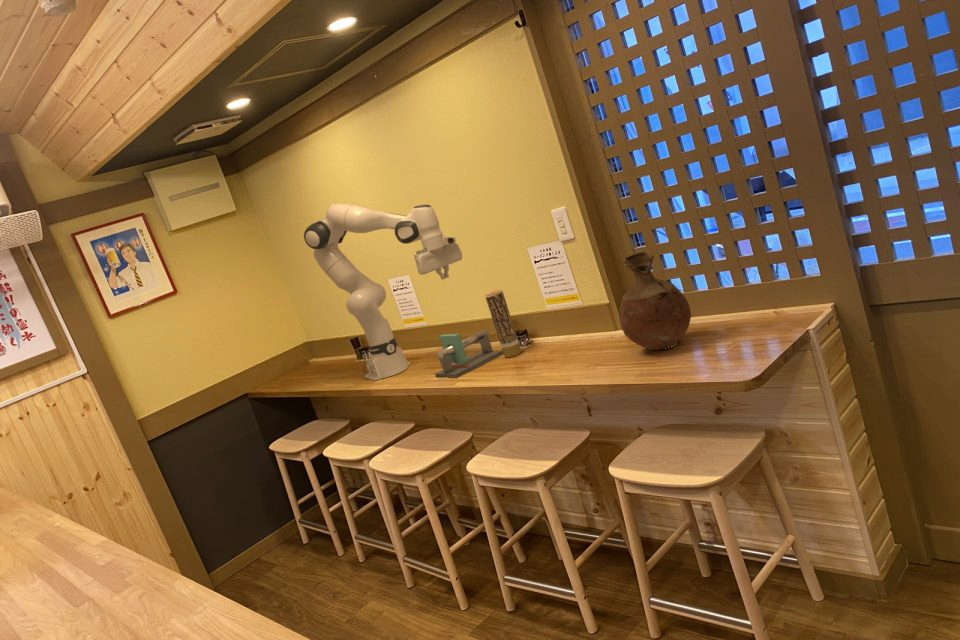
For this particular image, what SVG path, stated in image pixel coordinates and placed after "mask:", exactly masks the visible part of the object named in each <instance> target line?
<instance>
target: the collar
mask: <svg viewBox="0 0 960 640" xmlns="http://www.w3.org/2000/svg"><path fill="white" fill-rule="evenodd" d="M438 338H439V341H440V343H441V345H442V350H443V349H445V348H447V347H449V346H451V345H453V347H454V350H455V353H452V354H450V355H449V358H450V361H451V364H456V363H465V362H467V361H468V359H467V358H468V355H467V354H466V350H465V348H464V347H463V344H462V341H461V340H462V338H461V335H460V333H451V334H448V333H447V334H442V335H439V336H438Z"/></svg>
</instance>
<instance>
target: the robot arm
mask: <svg viewBox="0 0 960 640" xmlns="http://www.w3.org/2000/svg"><path fill="white" fill-rule="evenodd" d="M325 214H326V215H325V217H322V218H320V219H318V220H316V222H314V223H310V224H309V225H308V226H307V228H306V229H305V230H304V234H303V238H304V242H305V243H306V245H307V246H308V247H309V248H311V249H313V258H314V259H315V261H316V263H317V264H318V265H319V267H320V268H321V270H322V271H323V272H324V274H326V275H327V277H328V278H329V279H330V280H331V281H332V282H333V283H334V285H336V286H337V288H339V289H341V290H344V291H346V292H347V293H348V294H350V295H348V297H347V300H346V304H345V306H346V308H347V309H346V310H347V311H348V313H350V314H351V315H352V316H353V317H355V319H356V320H357V322H358V323H359V324H360V326H361V328H362V330H363V333H364V334H365V337H366V340H367V344H368V347H367V348H368V351H369V354H370V355H369V357H368V360H367V361H366V365H365V369H366V371H368V373H366V374H365V375H364V378H365V379H367V380H371V381H374V382H376V381H379V380H382V379H386V378H388V377H392V376H395V375H398V374H400V373H402V372H404V371H406V370H407V369H408V368H409V366H410V365H411V363H410V361H408V360H407V359H406V356H405V354H404V352H403V349H402V348H401V347H399V346H398V342H397V339H396V337H394V334H393V330H392V328H391V325H390V322H389V320H388V319H387V318H385V316H384V315H383V314H382V312H381V310H379V309H380V307H381V306H382V305H383V303H384V302H385V300H386V298H387V292H386V289H385V288H384V286H382V284H379V283H377V282H374V281H373V280H372V279H371V278H369V277H367V275H365V274H364V273H362V272H361V271H360V270H359V269H358V268H357V267H356V266H355V265H354V264H353V263H352V262H351V261H350V259H349V258H348V257H346V255H345V254H344V253H343V252H342V251H341V250H340V248H339V244H342V242H343V241H344V238H345V236H346V234H347V233H354V234H366V233H371V232H374V231H379V230H384V229H390V230H393V231H394V236H395V237H396V239H397V241H398V242H400V243H401V244H405V245H406V244H412V243H416V242H418V241H419V240H420V241H421V245H422V249H420V250H417V251H415V253H414V255H413V256H414V257H413V258H414V261H415V264H416V269H417V272H418V274H419V275H421V276H422V275H426V274H429V273H431V272H434V271H435V273H436V274H438V276H439V277H440V279H441V280H445V279H448V278H450V274H449V270H450V267H449V265H452V264H454V263H457V262H459V261H462V259H463V253H462V249H461V248H460V246H459V244H458V243H457V238H456V237H454V236H444V235H443V232H442V230H441V228H440V222H439V218H438V216H437V214H436V212H435V209H434V207H432V205H430V204H420V205H415V206H414V207H412V209H411V211H410V212H409V213H407V215H403V214H398V213H397V214H396V213H391V212H385V211H380V210H375V209H372V208H368V207H366V206H362V205H361V206H360V205H357V204H353V203H343V202H342V203H340V202H339V203H338V202H337V203H336V202H335V203H332V204H330V205H329V206H328V208H327V209H326V213H325ZM442 269H443V270H444V273H443V272H442Z"/></svg>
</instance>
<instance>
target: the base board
mask: <svg viewBox="0 0 960 640" xmlns="http://www.w3.org/2000/svg"><path fill="white" fill-rule="evenodd" d="M501 356H504V353H503V350H502V349H500V350H493V352H491V353H483V351H482V350H480V351H478V352H476V353H474V354H472V355H470V356H467V359H468V361H467V362H465V363H453V364H452V367H453V370H454V371H453V372H451V373H444V371H443V369H442V370H439V371H437V372H436V373H434V374H435V378H438V377H448V378H447V379H458V378H460V377H462V376H464V375H466V374H468V373H470V372H472V371H474V370H475V369H477V368H479V367H481V366H484V365H485V364H487V363H489V362H491V361H493V360H495V359H497V358H500V357H501Z"/></svg>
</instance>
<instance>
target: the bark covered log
mask: <svg viewBox="0 0 960 640" xmlns="http://www.w3.org/2000/svg"><path fill="white" fill-rule="evenodd" d="M484 296H485V300H486V303H487V306H488V309H489V312H490V316H491V319H492V322H493V325H494V329H495V331H496V334H497V337H498V341H499V343H500V347H501V350H503V353H504V354H503V356H504V357H505V358H507V359H509V358H513V357H516V356H519V355H520V354H521V353H522V348H521V345H520V343H519V342H520V341H519V340H518V336H517V333H516V329H515V325H514V323H513V320H512V317H511V313H510V310H509V307H508V304H507V301H506V297H505V295H504V291H503V290H502V289H499V290H494V291H492V292H488V293H487V294H485V295H484Z"/></svg>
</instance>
